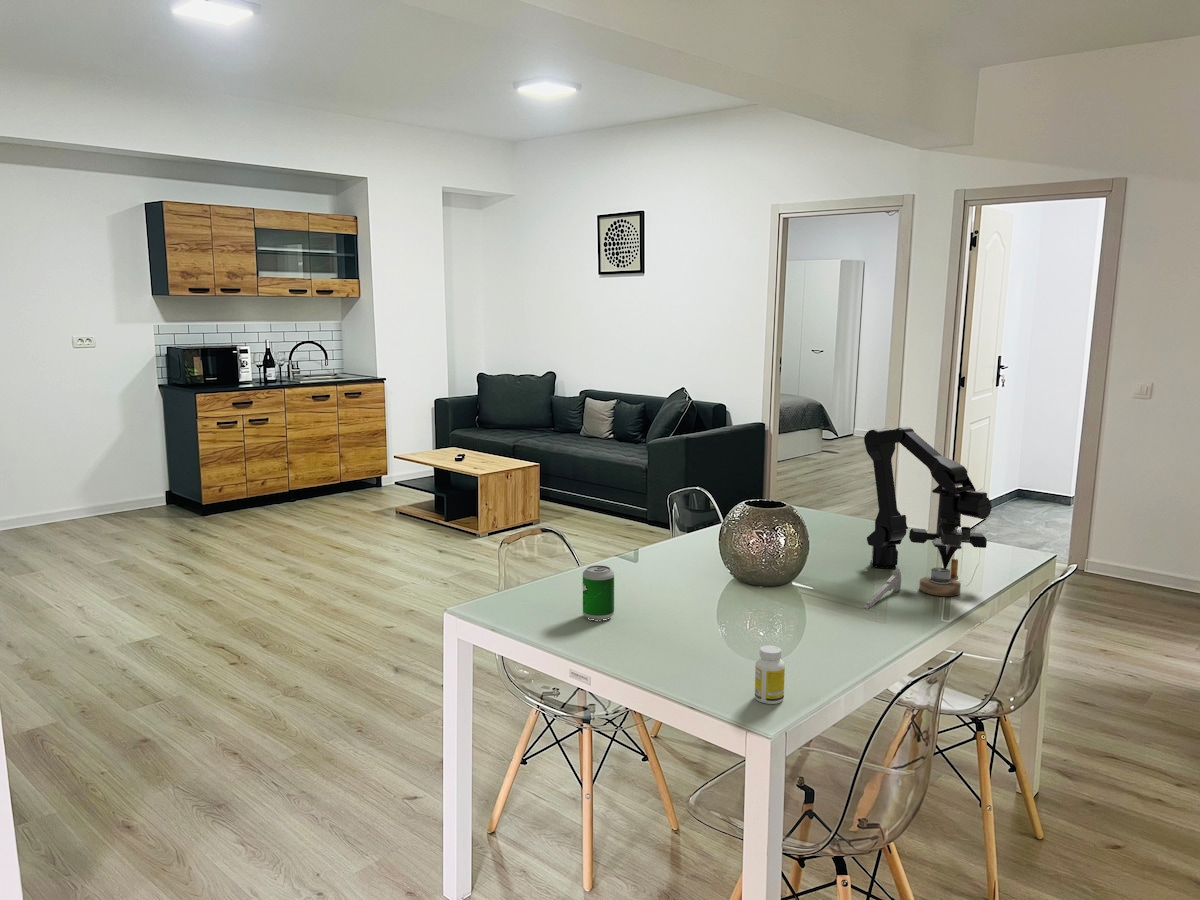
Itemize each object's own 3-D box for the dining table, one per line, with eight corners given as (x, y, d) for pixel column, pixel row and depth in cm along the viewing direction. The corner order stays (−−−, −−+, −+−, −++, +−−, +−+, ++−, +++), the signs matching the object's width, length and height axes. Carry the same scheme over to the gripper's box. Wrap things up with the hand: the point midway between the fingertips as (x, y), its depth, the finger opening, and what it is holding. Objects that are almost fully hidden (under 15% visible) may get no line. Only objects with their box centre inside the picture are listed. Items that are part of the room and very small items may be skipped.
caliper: (896, 589, 235) (897, 566, 234) (900, 590, 235) (901, 567, 234) (863, 609, 220) (864, 584, 219) (867, 610, 219) (868, 585, 218)
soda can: (619, 615, 215) (620, 567, 213) (604, 624, 208) (604, 575, 207) (593, 610, 219) (592, 562, 217) (576, 619, 212) (576, 570, 210)
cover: (926, 581, 233) (926, 569, 232) (935, 577, 236) (936, 565, 236) (945, 586, 229) (945, 573, 229) (954, 582, 233) (955, 569, 232)
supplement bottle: (788, 697, 169) (790, 648, 167) (775, 707, 165) (777, 656, 163) (762, 690, 172) (764, 641, 171) (749, 700, 168) (750, 650, 166)
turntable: (949, 598, 226) (951, 573, 225) (912, 589, 233) (913, 565, 232) (973, 587, 236) (974, 562, 235) (936, 579, 243) (938, 555, 242)
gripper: (916, 515, 231) (911, 574, 233) (993, 520, 227) (988, 580, 229) (911, 507, 242) (906, 563, 244) (984, 512, 237) (979, 569, 240)
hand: (944, 569), depth 239 cm, fingers closed
